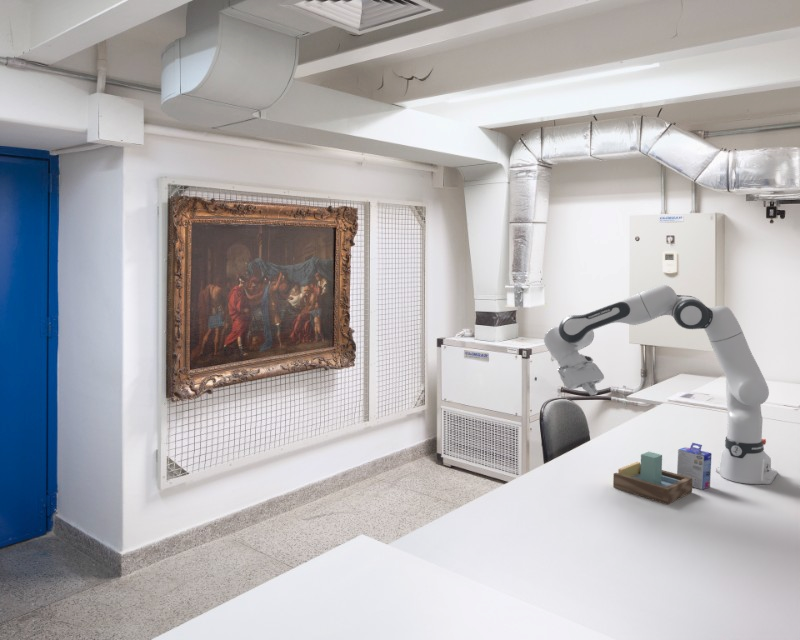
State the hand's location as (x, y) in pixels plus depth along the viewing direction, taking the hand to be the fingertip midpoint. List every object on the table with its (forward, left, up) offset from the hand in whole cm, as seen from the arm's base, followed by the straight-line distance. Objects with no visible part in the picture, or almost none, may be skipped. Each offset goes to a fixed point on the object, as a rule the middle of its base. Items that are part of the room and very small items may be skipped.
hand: (594, 394), depth 240 cm
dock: (+1, +24, -29) cm, 38 cm away
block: (+1, +24, -27) cm, 36 cm away
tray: (+2, +24, -28) cm, 37 cm away
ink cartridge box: (-14, +31, -30) cm, 45 cm away
